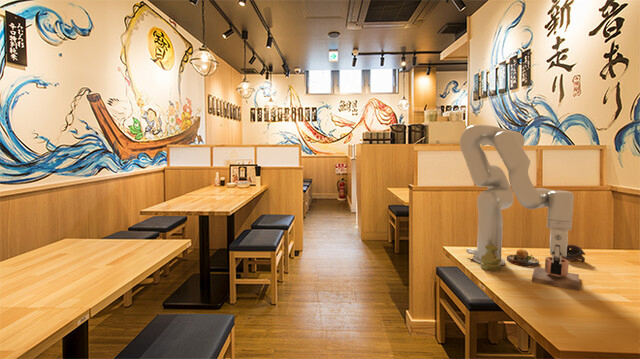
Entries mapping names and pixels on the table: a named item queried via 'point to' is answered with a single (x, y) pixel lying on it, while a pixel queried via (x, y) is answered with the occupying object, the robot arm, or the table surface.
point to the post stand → (556, 279)
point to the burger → (522, 258)
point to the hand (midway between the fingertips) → (555, 270)
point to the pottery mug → (574, 253)
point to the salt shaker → (491, 259)
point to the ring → (564, 266)
